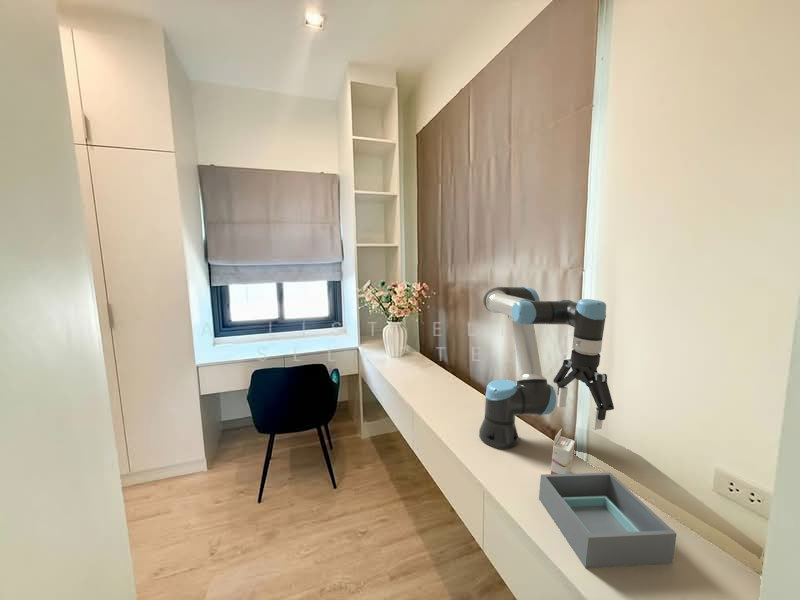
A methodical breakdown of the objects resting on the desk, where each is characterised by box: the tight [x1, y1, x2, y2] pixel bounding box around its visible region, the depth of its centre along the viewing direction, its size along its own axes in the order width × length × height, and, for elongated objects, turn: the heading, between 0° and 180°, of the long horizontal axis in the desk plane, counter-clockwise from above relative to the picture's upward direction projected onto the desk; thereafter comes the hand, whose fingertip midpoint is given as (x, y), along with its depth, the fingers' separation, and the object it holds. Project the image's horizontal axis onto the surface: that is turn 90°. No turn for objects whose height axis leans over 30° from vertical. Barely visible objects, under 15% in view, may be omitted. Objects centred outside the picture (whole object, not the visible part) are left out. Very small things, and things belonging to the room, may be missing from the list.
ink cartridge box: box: [550, 428, 576, 474], centre depth 108 cm, size 9×5×15 cm, turn 141°
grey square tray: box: [538, 472, 677, 569], centre depth 87 cm, size 22×22×8 cm
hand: (578, 416), depth 100 cm, fingers open, 13 cm apart
